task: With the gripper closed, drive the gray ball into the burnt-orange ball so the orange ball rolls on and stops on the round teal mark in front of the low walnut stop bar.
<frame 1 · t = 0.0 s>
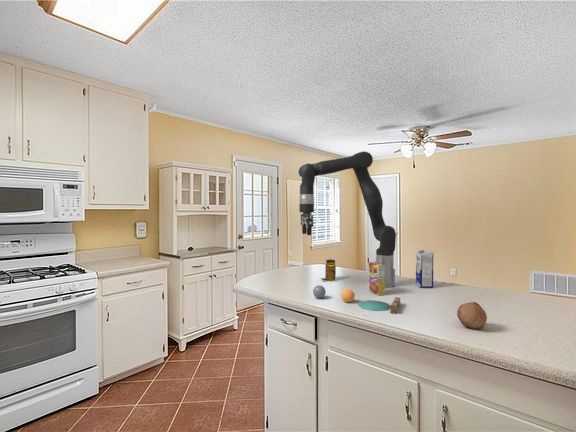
hand: (306, 234, 166), 29 cm above the counter, tool pointing down, fingers open, 8 cm apart
gray ball: (319, 291, 153), on the counter
teal mark: (374, 305, 142), on the counter
candy box: (376, 293, 162), on the counter
condiment: (329, 280, 191), on the counter
brown oval lump: (471, 327, 117), on the counter
orange ball: (347, 295, 147), on the counter
milk carton: (424, 286, 175), on the counter
stop bar: (395, 308, 138), on the counter
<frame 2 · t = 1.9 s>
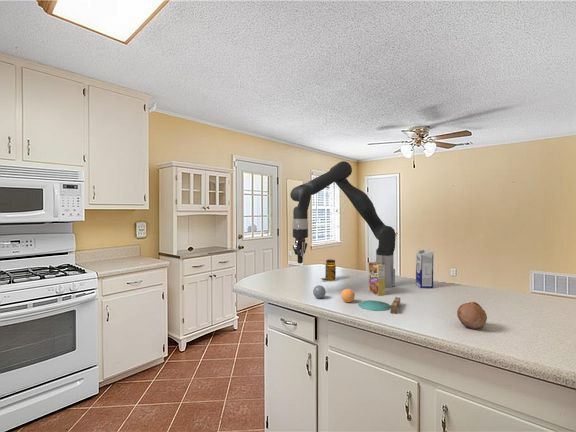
hand: (300, 263, 157), 16 cm above the counter, tool pointing down, fingers closed
nothing on the counter moved.
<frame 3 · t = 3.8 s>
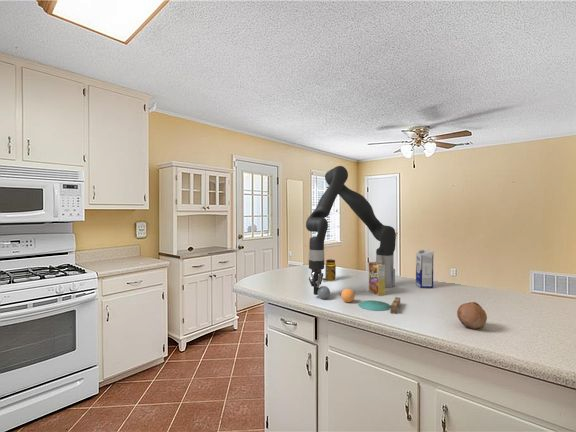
hand: (316, 294, 154), 1 cm above the counter, tool pointing down, fingers closed
gray ball: (323, 292, 152), on the counter, touching gripper
everything else where it was.
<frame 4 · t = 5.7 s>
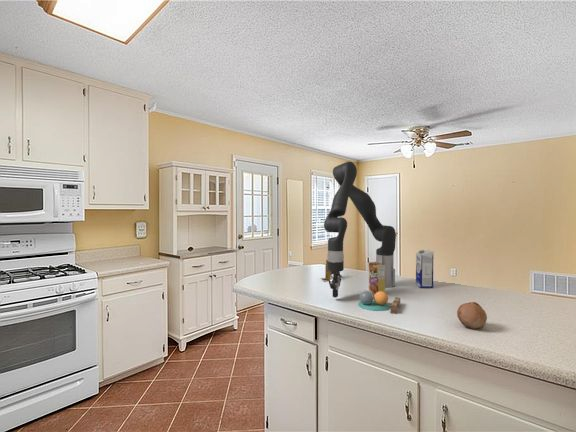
hand: (335, 297, 150), 2 cm above the counter, tool pointing down, fingers closed
gray ball: (366, 297, 143), on the counter
orange ball: (380, 298, 142), on the counter
everything else where it was.
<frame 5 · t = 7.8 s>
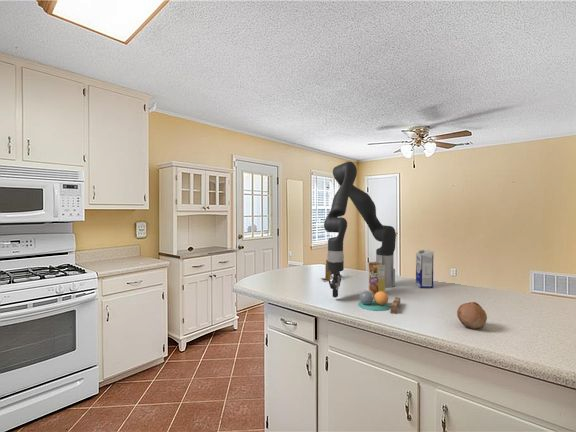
hand: (335, 297, 150), 2 cm above the counter, tool pointing down, fingers closed
nothing on the counter moved.
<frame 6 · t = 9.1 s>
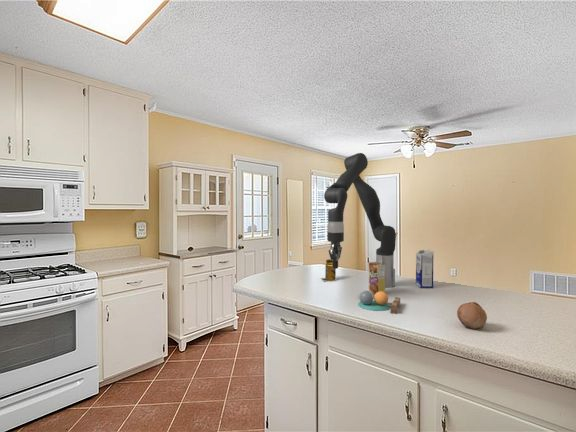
hand: (335, 268, 149), 15 cm above the counter, tool pointing down, fingers closed
nothing on the counter moved.
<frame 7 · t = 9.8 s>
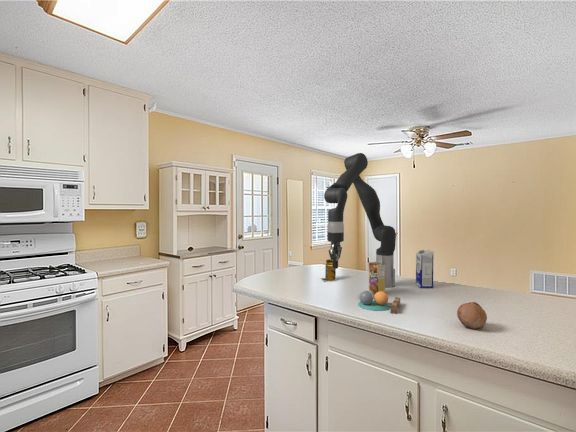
hand: (335, 268, 149), 15 cm above the counter, tool pointing down, fingers closed
nothing on the counter moved.
at the end: orange ball 3.3 cm from the teal mark (horizontally); orange ball never touched the robot; gray ball first touched orange ball at 4.1 s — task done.
